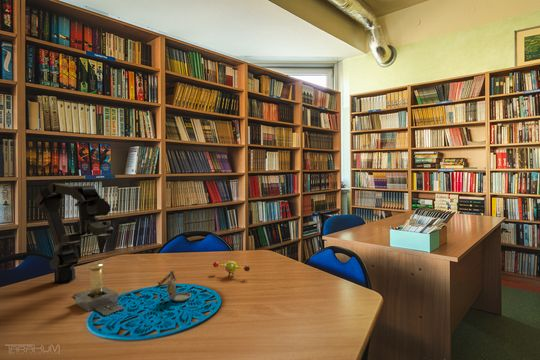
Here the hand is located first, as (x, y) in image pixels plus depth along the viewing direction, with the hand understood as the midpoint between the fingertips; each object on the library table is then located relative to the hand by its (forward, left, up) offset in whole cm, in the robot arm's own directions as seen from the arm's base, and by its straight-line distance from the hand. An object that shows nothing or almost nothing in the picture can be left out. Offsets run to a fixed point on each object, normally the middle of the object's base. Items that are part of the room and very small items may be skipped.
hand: (90, 255), depth 124 cm
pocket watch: (+36, -17, -13) cm, 42 cm away
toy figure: (+55, +5, -13) cm, 57 cm away
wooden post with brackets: (+29, +1, -13) cm, 32 cm away
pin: (+8, -16, -13) cm, 22 cm away
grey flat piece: (+8, -16, -13) cm, 22 cm away
